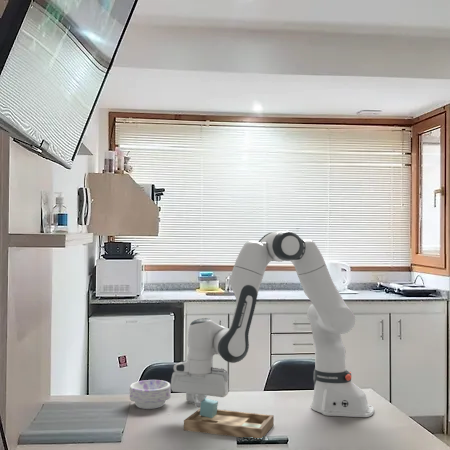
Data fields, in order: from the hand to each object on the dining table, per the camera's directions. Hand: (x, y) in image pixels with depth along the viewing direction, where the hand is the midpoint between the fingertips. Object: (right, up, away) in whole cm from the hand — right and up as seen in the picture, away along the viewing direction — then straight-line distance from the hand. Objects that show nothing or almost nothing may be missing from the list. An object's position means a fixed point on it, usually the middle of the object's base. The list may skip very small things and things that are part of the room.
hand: (199, 407), depth 191 cm
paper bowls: (-19, -5, +17) cm, 26 cm away
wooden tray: (+10, -4, -8) cm, 14 cm away
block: (+3, -2, -1) cm, 4 cm away
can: (-2, -6, +23) cm, 24 cm away
